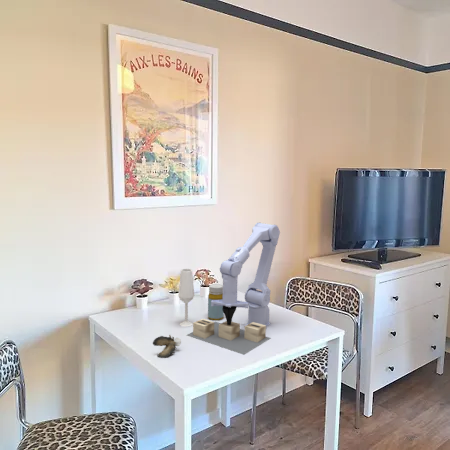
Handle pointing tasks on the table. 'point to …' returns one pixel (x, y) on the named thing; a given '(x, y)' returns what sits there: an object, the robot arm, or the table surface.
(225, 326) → the plain birch block
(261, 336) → the one-bar birch block
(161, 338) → the eagle figurine
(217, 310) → the bottle
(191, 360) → the table surface
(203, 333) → the two-bar birch block
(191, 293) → the champagne flute
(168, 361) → the table surface
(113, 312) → the table surface
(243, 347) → the charcoal rubber mat
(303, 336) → the table surface
